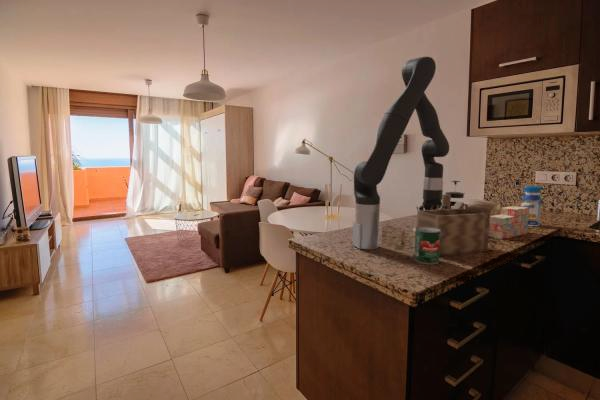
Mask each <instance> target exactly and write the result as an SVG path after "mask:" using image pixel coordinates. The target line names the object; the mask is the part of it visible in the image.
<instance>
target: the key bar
mask: <svg viewBox="0 0 600 400" xmlns="http://www.w3.org/2000/svg"><path fill="white" fill-rule="evenodd" d="M468 206H475V207H480V208H485V209H491V211H497V210H498V211H501V203H500V202H495V201H489V200H483V199H477V198H469V199H468Z"/></svg>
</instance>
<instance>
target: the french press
mask: <svg viewBox="0 0 600 400" xmlns="http://www.w3.org/2000/svg"><path fill="white" fill-rule="evenodd" d="M451 182H452V183H454V191H448V192H446V191H445V193H444V194H449V195H451V199H453V201H451V202H450V209H452V207H453V206H454V205H455V203H456V202H457V201H456V199H463V198H464V197H465V193H464V192H461V191H456V190H457V189H456V186H457V183H461V181H460V180H451ZM466 206H469V204H467V203H465V202H463V209H466Z"/></svg>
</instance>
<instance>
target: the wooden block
mask: <svg viewBox="0 0 600 400" xmlns="http://www.w3.org/2000/svg"><path fill="white" fill-rule="evenodd" d="M451 200H452V198H451V195H449V194H446V193H444V194H442V200H441V202H442V204H443V205H446V206H447V209H450V202H451ZM455 202H456V203H455V205H454V206H451V209H463V203H464V202H463V201H455Z"/></svg>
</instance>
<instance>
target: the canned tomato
mask: <svg viewBox="0 0 600 400" xmlns="http://www.w3.org/2000/svg"><path fill="white" fill-rule="evenodd" d="M414 228H415V229H416V232H415V231H414V233H415V234H414V237H415V238H414V253H413V254H414V258H413V260H414V261H415V262H416V263H419V264H424V265H437V264H439V262H440V256H439V248H440V231H441V230H440V229H438V228H433V227H417V226H416V227H414Z"/></svg>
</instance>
